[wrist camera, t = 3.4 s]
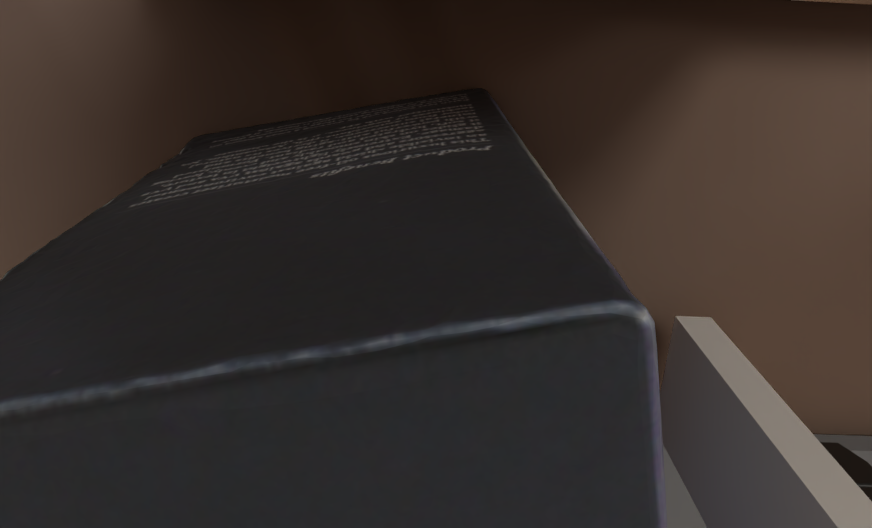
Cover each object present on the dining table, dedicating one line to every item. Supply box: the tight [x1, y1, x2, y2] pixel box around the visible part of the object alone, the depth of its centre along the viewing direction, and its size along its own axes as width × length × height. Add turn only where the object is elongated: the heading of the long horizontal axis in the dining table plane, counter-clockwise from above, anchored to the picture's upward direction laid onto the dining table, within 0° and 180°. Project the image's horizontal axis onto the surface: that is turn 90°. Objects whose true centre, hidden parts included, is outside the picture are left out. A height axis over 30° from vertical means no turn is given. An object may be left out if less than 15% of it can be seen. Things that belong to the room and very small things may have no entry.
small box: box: [0, 88, 667, 528], centre depth 11 cm, size 11×6×10 cm, turn 10°
